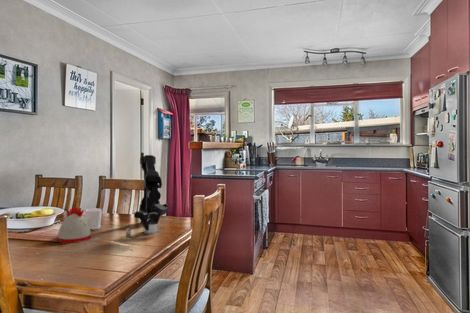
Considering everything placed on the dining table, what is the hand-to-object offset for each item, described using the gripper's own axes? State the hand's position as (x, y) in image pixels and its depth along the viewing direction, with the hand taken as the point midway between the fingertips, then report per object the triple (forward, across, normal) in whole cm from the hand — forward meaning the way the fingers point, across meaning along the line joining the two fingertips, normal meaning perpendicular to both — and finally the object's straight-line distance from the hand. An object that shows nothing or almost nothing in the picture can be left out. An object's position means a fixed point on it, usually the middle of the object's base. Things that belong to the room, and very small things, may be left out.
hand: (151, 229), depth 154 cm
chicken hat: (+3, -24, +25) cm, 35 cm away
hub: (+2, -12, +3) cm, 13 cm away
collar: (+2, 0, 0) cm, 2 cm away
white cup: (+3, -8, +33) cm, 34 cm away
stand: (+2, 0, 0) cm, 2 cm away
